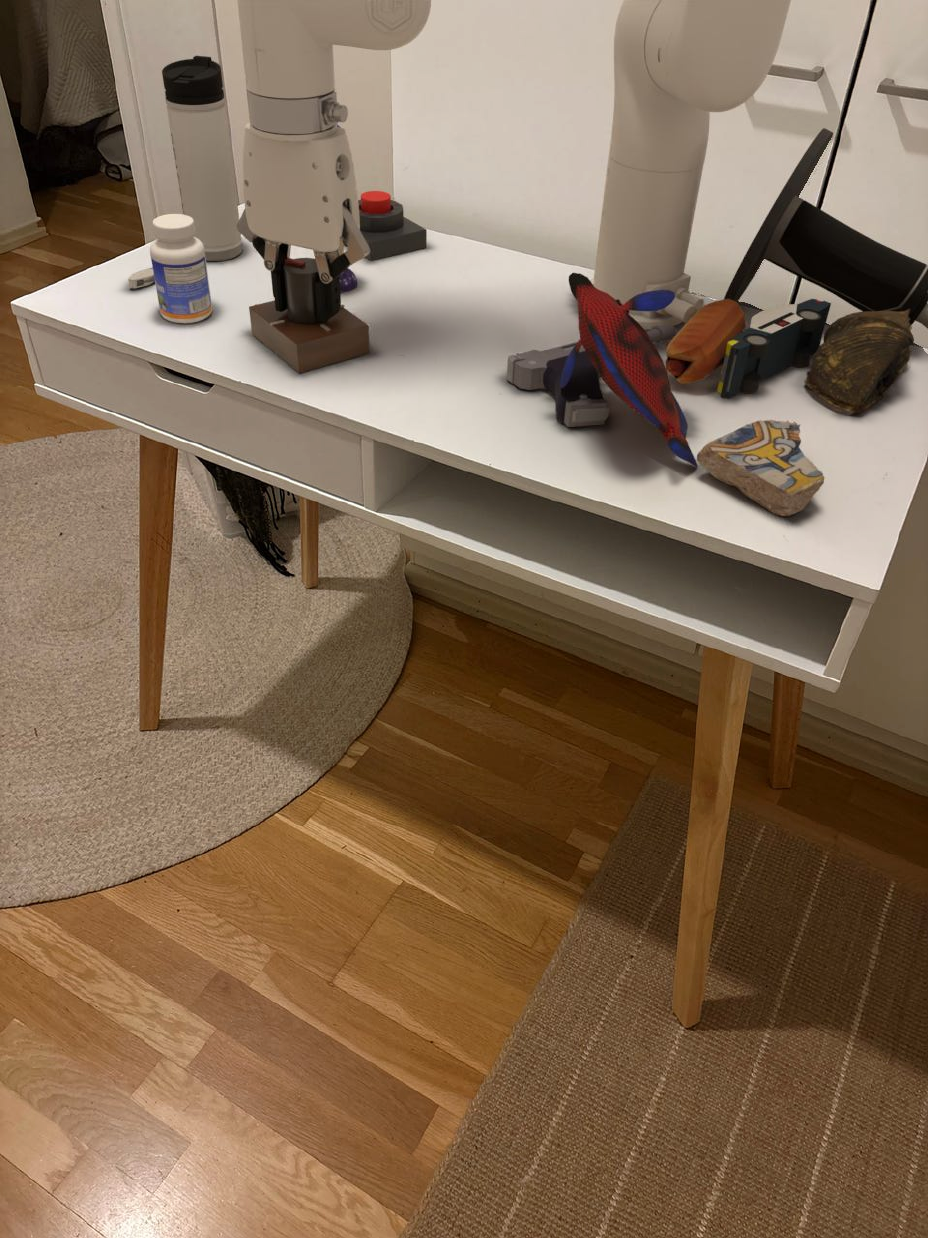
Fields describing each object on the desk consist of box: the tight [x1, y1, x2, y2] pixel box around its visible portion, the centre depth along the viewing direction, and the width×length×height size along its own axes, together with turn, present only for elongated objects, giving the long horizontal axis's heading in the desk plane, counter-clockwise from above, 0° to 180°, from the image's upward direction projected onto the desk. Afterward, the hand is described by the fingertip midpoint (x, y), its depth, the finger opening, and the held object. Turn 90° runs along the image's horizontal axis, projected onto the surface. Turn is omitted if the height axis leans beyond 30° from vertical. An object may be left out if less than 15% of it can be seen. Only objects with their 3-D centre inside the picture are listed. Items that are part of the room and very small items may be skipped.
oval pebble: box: [127, 267, 155, 289], centre depth 111 cm, size 6×2×1 cm, turn 152°
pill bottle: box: [149, 213, 213, 324], centre depth 102 cm, size 5×5×10 cm
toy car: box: [716, 298, 832, 399], centre depth 98 cm, size 5×16×5 cm
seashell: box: [803, 309, 915, 413], centre depth 97 cm, size 16×9×7 cm, turn 148°
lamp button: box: [360, 190, 392, 214], centre depth 119 cm, size 4×4×2 cm
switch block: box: [342, 199, 428, 261], centre depth 121 cm, size 10×8×4 cm
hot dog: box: [665, 298, 746, 384], centre depth 98 cm, size 5×13×5 cm
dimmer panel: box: [248, 299, 371, 374], centre depth 100 cm, size 10×8×3 cm
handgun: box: [506, 324, 677, 428], centre depth 96 cm, size 3×20×12 cm
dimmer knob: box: [283, 257, 320, 324], centre depth 97 cm, size 4×4×5 cm
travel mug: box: [161, 55, 244, 262], centre depth 112 cm, size 6×7×20 cm
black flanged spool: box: [723, 127, 928, 330], centre depth 103 cm, size 19×19×25 cm
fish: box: [560, 272, 699, 468], centre depth 87 cm, size 20×12×15 cm
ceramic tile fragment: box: [696, 419, 825, 517], centre depth 83 cm, size 12×3×10 cm
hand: (307, 309), depth 99 cm, fingers closed on dimmer knob, 4 cm apart
